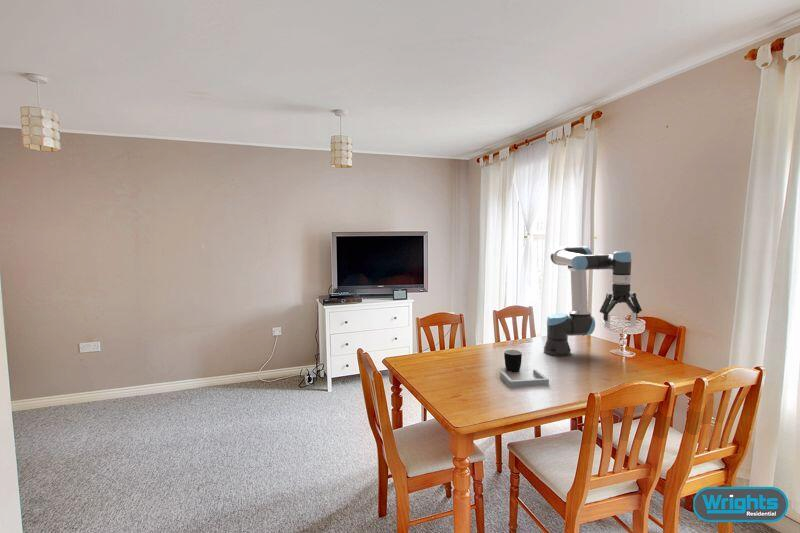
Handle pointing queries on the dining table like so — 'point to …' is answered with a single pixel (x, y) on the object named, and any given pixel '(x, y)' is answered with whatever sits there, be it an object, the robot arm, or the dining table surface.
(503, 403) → the dining table surface
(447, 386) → the dining table surface
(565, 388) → the dining table surface
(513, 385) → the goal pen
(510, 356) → the mug
